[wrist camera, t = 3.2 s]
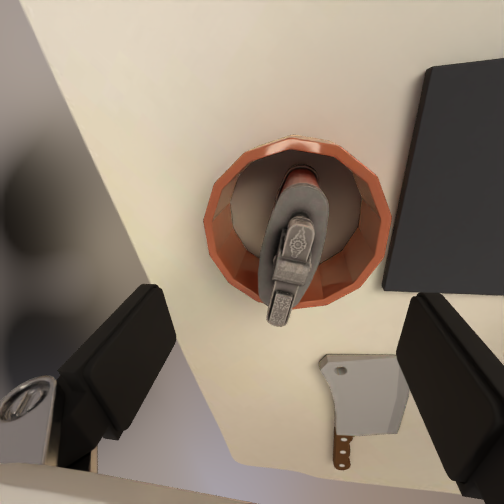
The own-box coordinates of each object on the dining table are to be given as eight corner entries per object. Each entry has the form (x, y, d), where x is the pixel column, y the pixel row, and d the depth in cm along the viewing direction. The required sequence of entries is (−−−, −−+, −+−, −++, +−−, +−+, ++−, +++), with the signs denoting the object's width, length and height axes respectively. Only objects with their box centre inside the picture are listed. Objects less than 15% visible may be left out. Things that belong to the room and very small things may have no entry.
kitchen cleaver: (390, 474, 35) (320, 468, 36) (388, 466, 36) (319, 460, 37) (421, 359, 24) (319, 357, 26) (416, 350, 25) (318, 350, 27)
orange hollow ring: (380, 127, 16) (410, 128, 12) (358, 276, 22) (372, 314, 17) (215, 140, 18) (189, 145, 14) (232, 272, 24) (218, 305, 20)
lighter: (283, 160, 18) (269, 192, 10) (327, 168, 18) (354, 209, 9) (264, 251, 22) (242, 332, 13) (300, 258, 22) (301, 347, 13)
